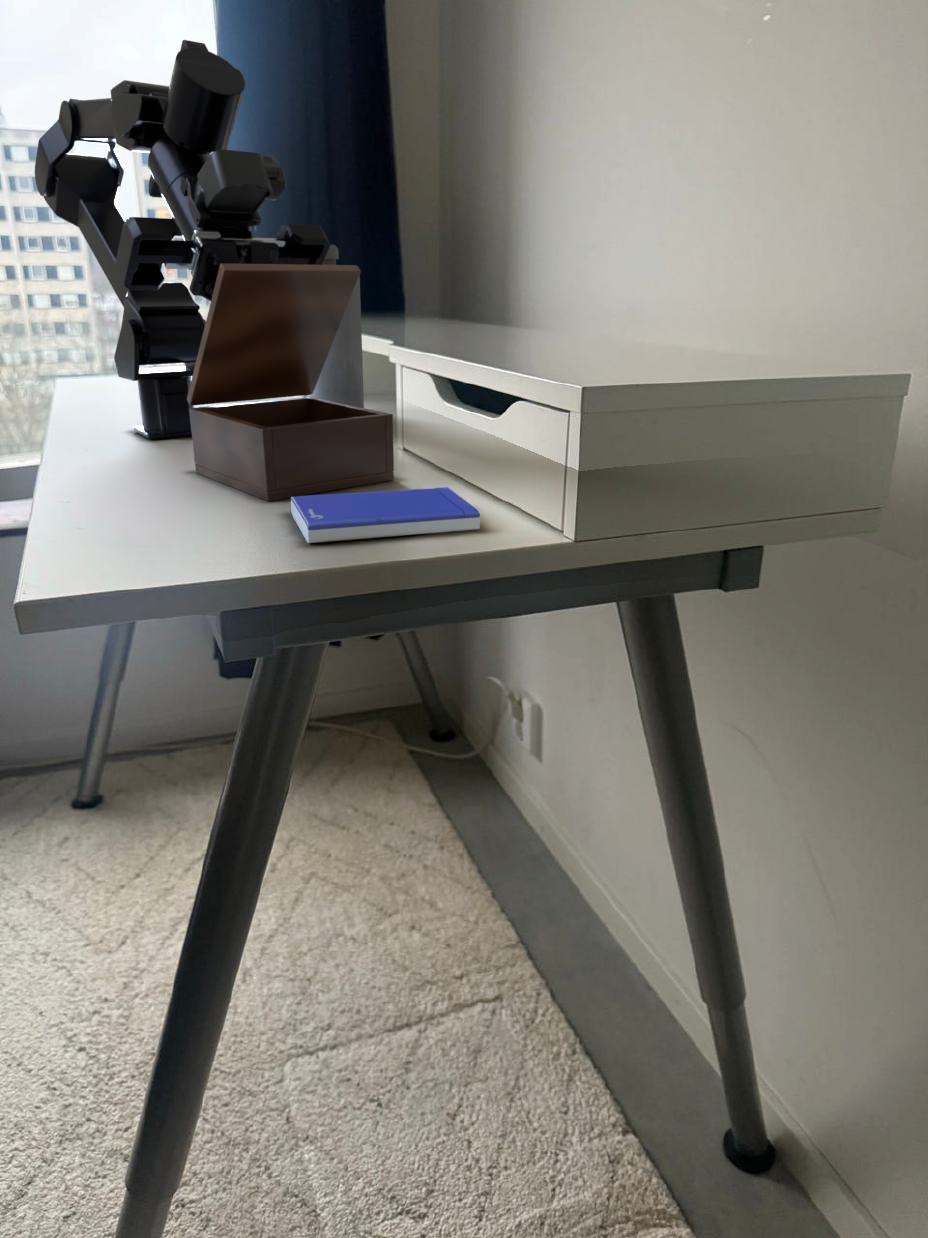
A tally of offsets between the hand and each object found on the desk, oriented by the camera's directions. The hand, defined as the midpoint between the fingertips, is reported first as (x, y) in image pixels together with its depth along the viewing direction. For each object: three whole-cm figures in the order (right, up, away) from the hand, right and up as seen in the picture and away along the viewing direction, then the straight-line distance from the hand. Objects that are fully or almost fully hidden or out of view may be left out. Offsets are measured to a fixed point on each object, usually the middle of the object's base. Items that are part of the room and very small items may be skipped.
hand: (264, 328), depth 76 cm
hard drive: (+11, -19, -11) cm, 25 cm away
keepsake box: (+2, -13, +2) cm, 13 cm away
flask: (+1, 0, +34) cm, 34 cm away
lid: (+1, -1, -1) cm, 2 cm away
